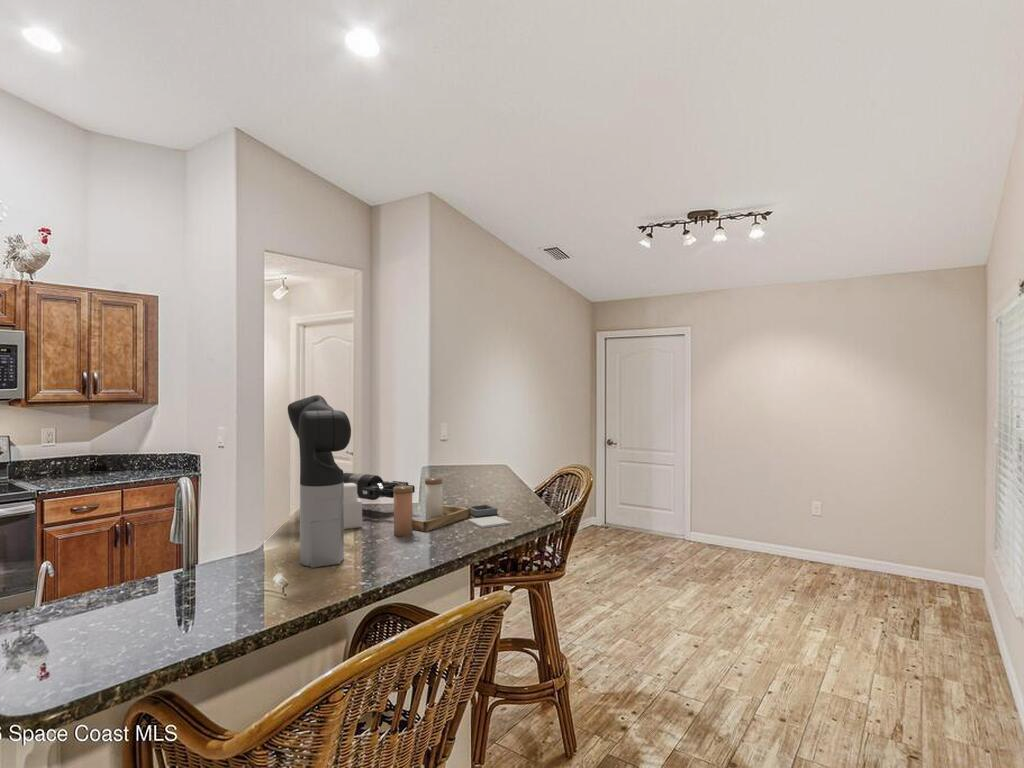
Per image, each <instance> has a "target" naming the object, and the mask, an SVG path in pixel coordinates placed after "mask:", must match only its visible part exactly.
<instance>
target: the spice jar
mask: <svg viewBox="0 0 1024 768" xmlns="http://www.w3.org/2000/svg"><path fill="white" fill-rule="evenodd" d="M424 484H425V486H424V488H425V490H424V491H425V492H424V493H425V497H424V498H425V500H424V501H425V521H427V520H431V519H434V518H437V517H440V516H444V514H443V484H444V481H443V478H442V477H437V476H436V477H426V478H424Z"/></svg>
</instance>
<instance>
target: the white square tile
mask: <svg viewBox="0 0 1024 768" xmlns="http://www.w3.org/2000/svg"><path fill="white" fill-rule="evenodd" d="M467 522H468V523H470V524H472V525H475V526H476V527H478V528H481V529H485V528H493V527H499V526H501V527H502V526H506V525H507V526H509V525H511V523H512V522H511V521H509V520H507V519H504V518H502V517H500V516H498V515H495V516H486V517H478V518H476V517H474V518H467Z"/></svg>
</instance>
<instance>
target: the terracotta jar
mask: <svg viewBox="0 0 1024 768" xmlns="http://www.w3.org/2000/svg"><path fill="white" fill-rule="evenodd" d="M412 492H413V487H412V486H396V487H393V493H394V498H393V536H395V535H396V537H409V536H412V535H413V529H412V519H413V493H412ZM411 534H412V535H411ZM408 535H409V536H408Z"/></svg>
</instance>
